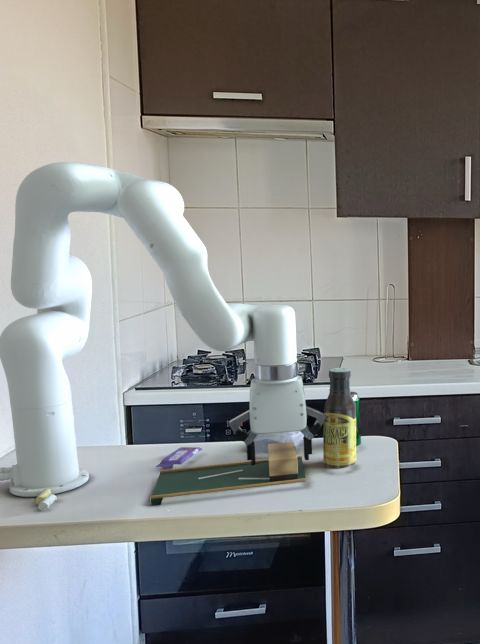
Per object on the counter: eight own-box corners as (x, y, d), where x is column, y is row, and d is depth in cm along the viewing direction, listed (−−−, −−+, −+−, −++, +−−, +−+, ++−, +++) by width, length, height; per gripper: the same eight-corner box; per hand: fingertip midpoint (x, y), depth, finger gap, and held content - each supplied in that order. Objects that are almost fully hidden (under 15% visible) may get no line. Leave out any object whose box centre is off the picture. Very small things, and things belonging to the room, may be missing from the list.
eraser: (269, 481, 136) (268, 460, 135) (268, 463, 146) (267, 443, 145) (298, 478, 137) (297, 457, 137) (295, 461, 147) (294, 441, 147)
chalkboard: (151, 505, 128) (150, 496, 128) (160, 478, 142) (159, 470, 141) (307, 487, 136) (306, 479, 136) (302, 463, 149) (301, 455, 149)
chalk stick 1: (36, 496, 129) (46, 497, 129) (43, 487, 132) (52, 489, 133) (34, 504, 129) (43, 505, 129) (41, 495, 133) (50, 497, 133)
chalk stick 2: (39, 501, 126) (49, 504, 127) (48, 492, 130) (57, 495, 130) (36, 509, 126) (46, 512, 127) (45, 500, 130) (54, 503, 130)
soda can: (335, 453, 156) (332, 396, 154) (338, 445, 161) (336, 391, 159) (359, 452, 156) (357, 396, 154) (362, 445, 161) (360, 390, 159)
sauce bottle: (318, 473, 144) (313, 371, 141) (332, 462, 150) (328, 365, 147) (349, 475, 142) (345, 373, 139) (363, 464, 148) (359, 366, 145)
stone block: (245, 466, 153) (292, 457, 152) (239, 444, 152) (286, 434, 152) (264, 450, 165) (308, 441, 164) (259, 429, 164) (303, 420, 163)
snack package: (179, 462, 145) (154, 462, 145) (180, 471, 145) (155, 471, 145) (205, 443, 156) (182, 443, 156) (206, 452, 156) (183, 452, 157)
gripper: (322, 365, 145) (325, 450, 147) (227, 370, 139) (232, 459, 142) (325, 373, 138) (328, 462, 140) (226, 379, 132) (231, 472, 135)
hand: (280, 460), depth 141 cm, fingers open, 9 cm apart
